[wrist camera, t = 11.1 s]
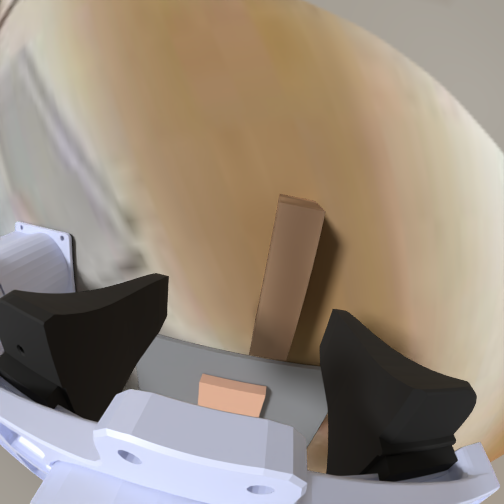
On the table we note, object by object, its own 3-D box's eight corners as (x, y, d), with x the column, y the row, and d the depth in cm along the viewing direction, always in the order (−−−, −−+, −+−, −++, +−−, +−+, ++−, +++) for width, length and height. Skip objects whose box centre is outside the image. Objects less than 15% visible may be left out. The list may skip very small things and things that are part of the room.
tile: (202, 372, 24) (198, 424, 27) (199, 381, 23) (196, 433, 26) (266, 385, 24) (250, 435, 27) (265, 395, 22) (249, 444, 25)
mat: (146, 423, 29) (145, 426, 28) (135, 327, 24) (133, 330, 23) (300, 455, 28) (300, 458, 27) (346, 369, 23) (347, 372, 23)
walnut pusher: (255, 317, 22) (249, 354, 18) (279, 193, 19) (279, 202, 15) (286, 322, 22) (286, 361, 18) (314, 200, 19) (325, 211, 14)
